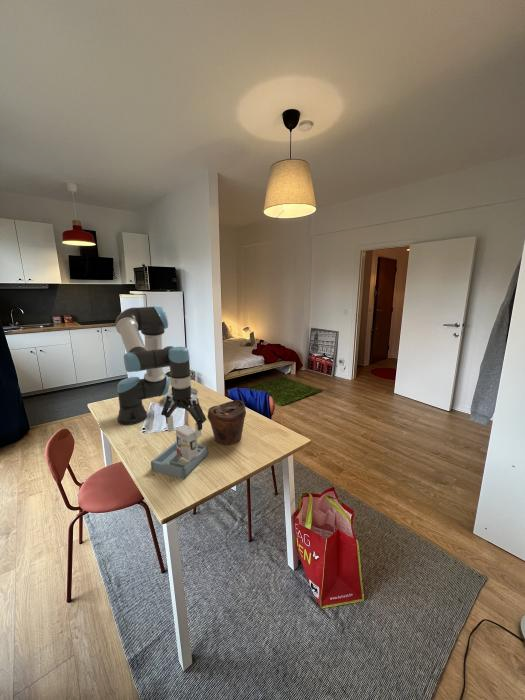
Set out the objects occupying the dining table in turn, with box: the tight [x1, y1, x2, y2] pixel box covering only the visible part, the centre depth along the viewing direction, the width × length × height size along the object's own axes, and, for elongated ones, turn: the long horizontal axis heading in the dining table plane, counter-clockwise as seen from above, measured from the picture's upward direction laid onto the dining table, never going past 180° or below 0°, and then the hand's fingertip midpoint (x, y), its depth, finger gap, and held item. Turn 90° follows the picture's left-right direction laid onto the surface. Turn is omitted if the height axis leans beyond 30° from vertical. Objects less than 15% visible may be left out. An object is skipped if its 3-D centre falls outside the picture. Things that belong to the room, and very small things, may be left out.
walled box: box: [150, 441, 209, 480], centre depth 123 cm, size 16×18×4 cm
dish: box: [163, 387, 199, 408], centre depth 189 cm, size 22×22×5 cm
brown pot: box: [206, 399, 247, 446], centre depth 140 cm, size 18×20×18 cm
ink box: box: [175, 424, 198, 461], centre depth 120 cm, size 9×5×12 cm, turn 50°
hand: (184, 433), depth 120 cm, fingers open, 13 cm apart
